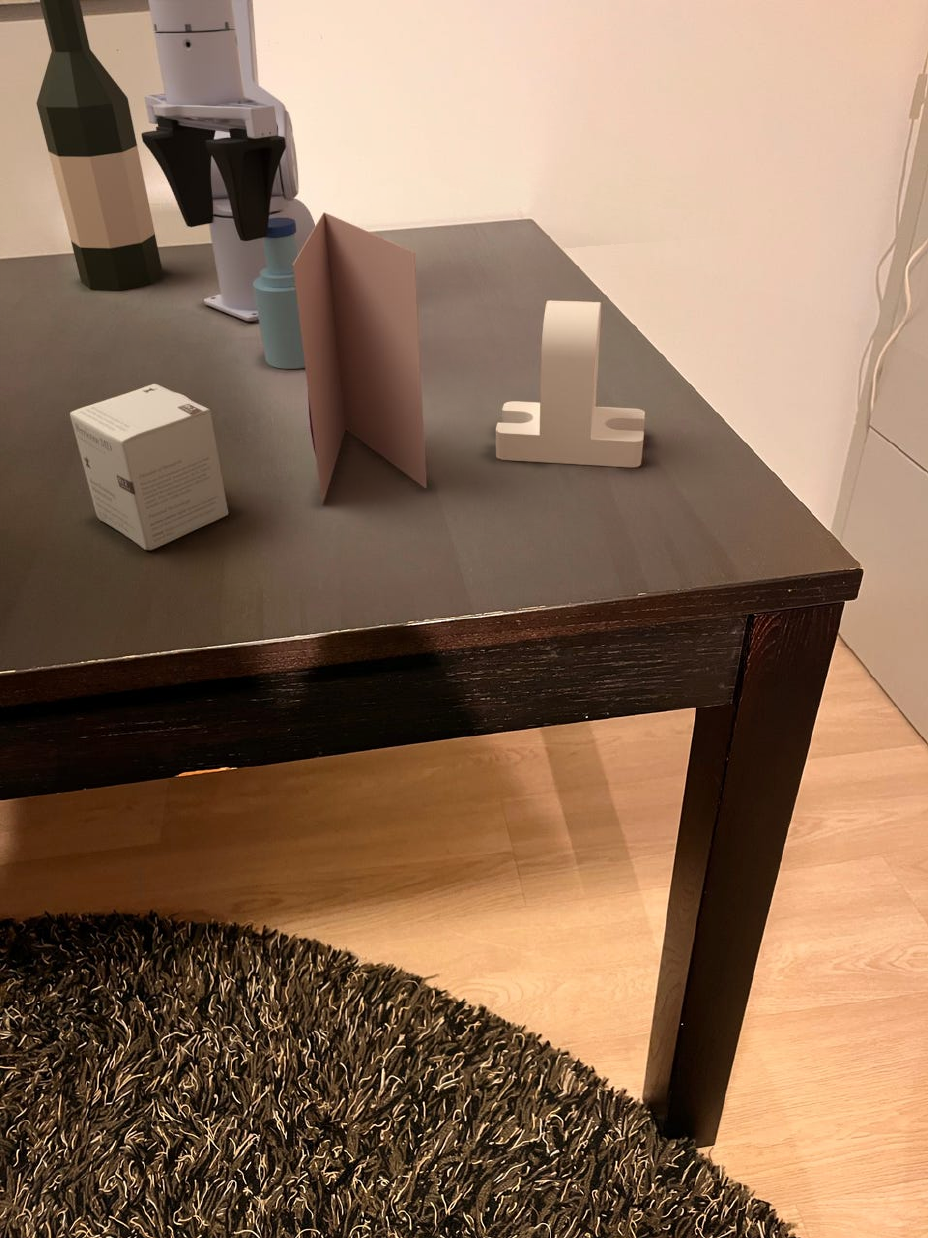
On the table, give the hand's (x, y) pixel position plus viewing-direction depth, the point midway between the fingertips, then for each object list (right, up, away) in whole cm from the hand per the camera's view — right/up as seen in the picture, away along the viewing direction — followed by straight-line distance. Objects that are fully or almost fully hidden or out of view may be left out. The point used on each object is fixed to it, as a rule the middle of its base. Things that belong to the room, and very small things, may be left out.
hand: (226, 231), depth 77 cm
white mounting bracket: (+26, -19, -9) cm, 33 cm away
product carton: (0, -24, -15) cm, 29 cm away
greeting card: (+13, -20, -10) cm, 26 cm away
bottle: (+5, -8, +6) cm, 11 cm away
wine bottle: (-17, +5, +26) cm, 31 cm away
